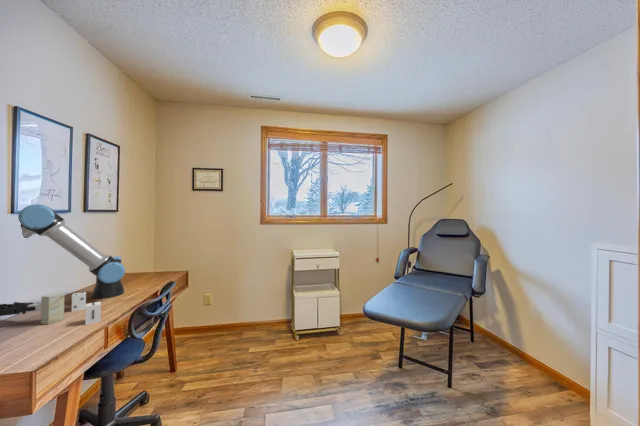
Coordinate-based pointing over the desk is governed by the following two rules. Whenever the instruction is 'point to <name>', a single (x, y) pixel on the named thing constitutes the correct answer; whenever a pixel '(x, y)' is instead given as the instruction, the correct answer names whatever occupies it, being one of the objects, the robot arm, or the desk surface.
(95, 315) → the marked block one
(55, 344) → the desk surface
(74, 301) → the marked block two
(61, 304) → the skincare box
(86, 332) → the desk surface
